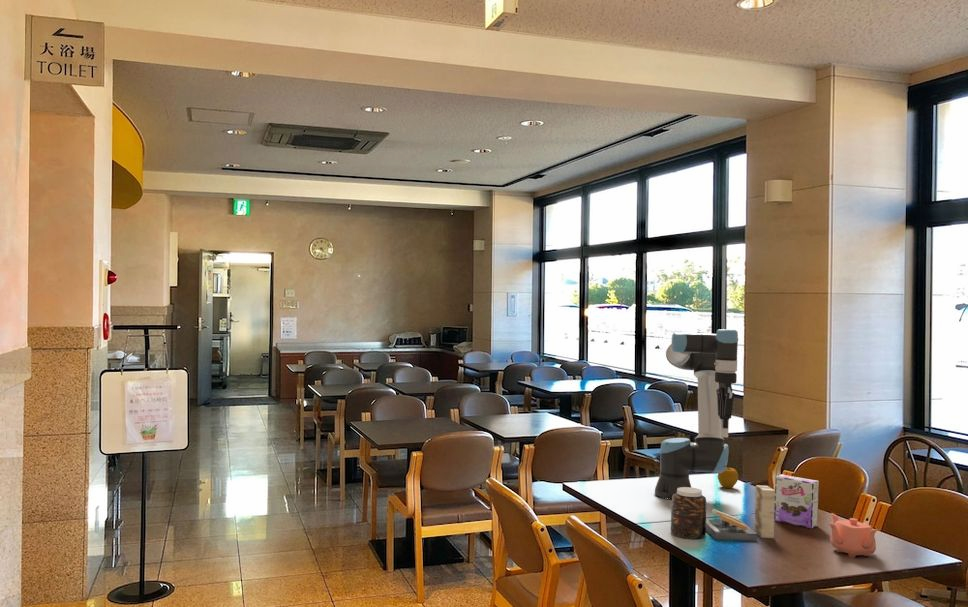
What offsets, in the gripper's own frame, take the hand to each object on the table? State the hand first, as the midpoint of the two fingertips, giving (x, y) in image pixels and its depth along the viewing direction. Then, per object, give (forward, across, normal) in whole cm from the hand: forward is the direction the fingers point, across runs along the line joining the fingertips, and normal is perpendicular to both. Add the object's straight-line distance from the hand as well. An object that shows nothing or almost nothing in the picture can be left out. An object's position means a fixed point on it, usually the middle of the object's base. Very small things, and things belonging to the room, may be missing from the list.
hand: (723, 436), depth 278 cm
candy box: (+31, 0, +27) cm, 41 cm away
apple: (+31, -54, +20) cm, 65 cm away
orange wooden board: (+25, +20, -2) cm, 32 cm away
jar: (+31, +18, -17) cm, 39 cm away
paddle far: (+25, +12, -2) cm, 28 cm away
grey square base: (+30, +16, -2) cm, 34 cm away
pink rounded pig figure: (+31, +34, +30) cm, 55 cm away
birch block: (+30, +16, +10) cm, 36 cm away
